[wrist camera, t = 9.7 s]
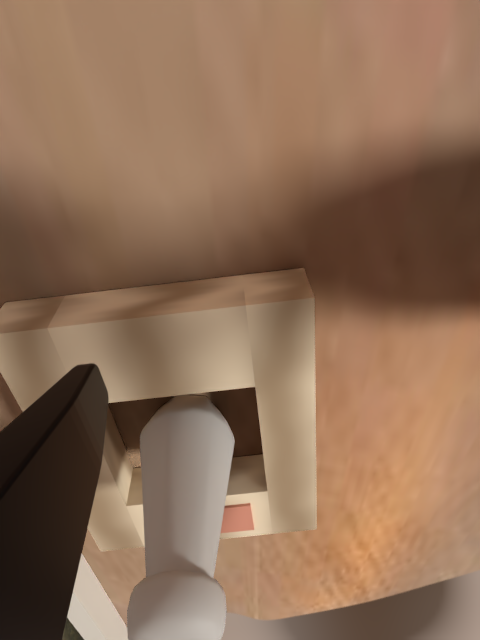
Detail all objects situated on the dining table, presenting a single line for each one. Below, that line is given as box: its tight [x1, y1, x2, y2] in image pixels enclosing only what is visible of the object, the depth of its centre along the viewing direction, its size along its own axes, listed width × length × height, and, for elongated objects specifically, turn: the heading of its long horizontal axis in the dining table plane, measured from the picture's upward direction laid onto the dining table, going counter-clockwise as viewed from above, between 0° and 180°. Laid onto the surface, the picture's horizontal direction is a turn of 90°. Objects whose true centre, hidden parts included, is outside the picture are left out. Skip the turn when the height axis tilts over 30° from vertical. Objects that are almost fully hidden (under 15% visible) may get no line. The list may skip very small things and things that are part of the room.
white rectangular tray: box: [67, 554, 129, 640], centre depth 40 cm, size 12×23×3 cm, turn 6°
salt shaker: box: [127, 395, 235, 640], centre depth 23 cm, size 6×6×13 cm
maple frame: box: [0, 268, 317, 551], centre depth 27 cm, size 16×20×3 cm
